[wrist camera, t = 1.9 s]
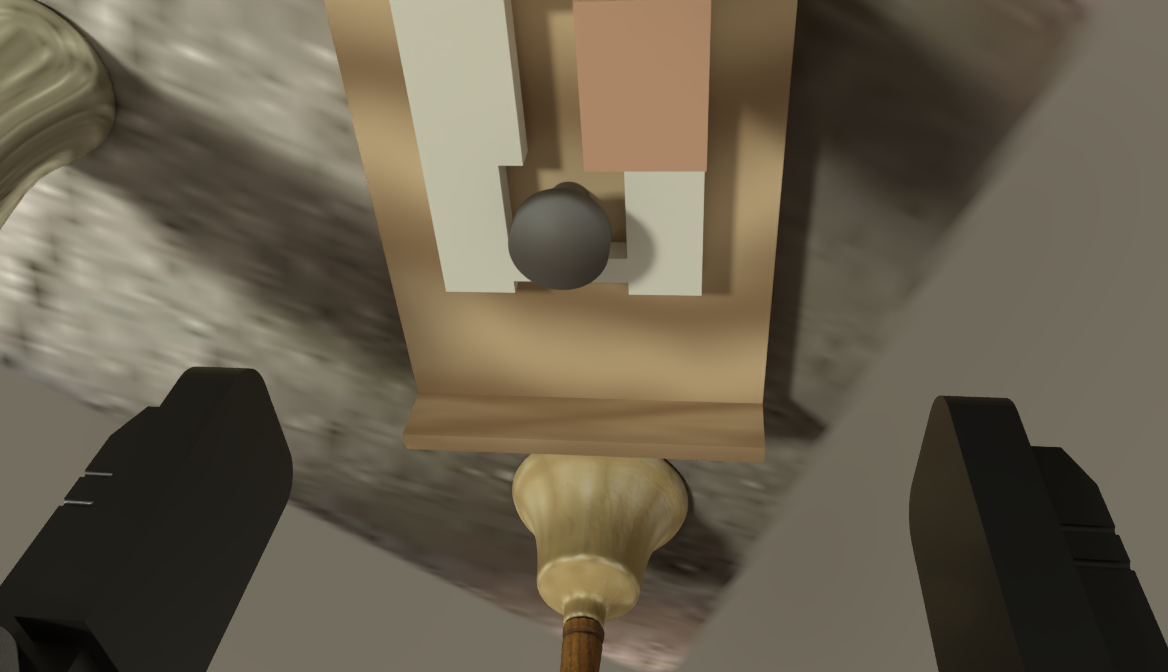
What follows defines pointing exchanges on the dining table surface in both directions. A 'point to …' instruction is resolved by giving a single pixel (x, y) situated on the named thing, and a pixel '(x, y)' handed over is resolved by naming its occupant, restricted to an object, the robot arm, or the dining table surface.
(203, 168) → the dining table surface
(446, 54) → the panel
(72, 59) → the beer glass
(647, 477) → the hand bell
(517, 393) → the boss board
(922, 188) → the dining table surface
